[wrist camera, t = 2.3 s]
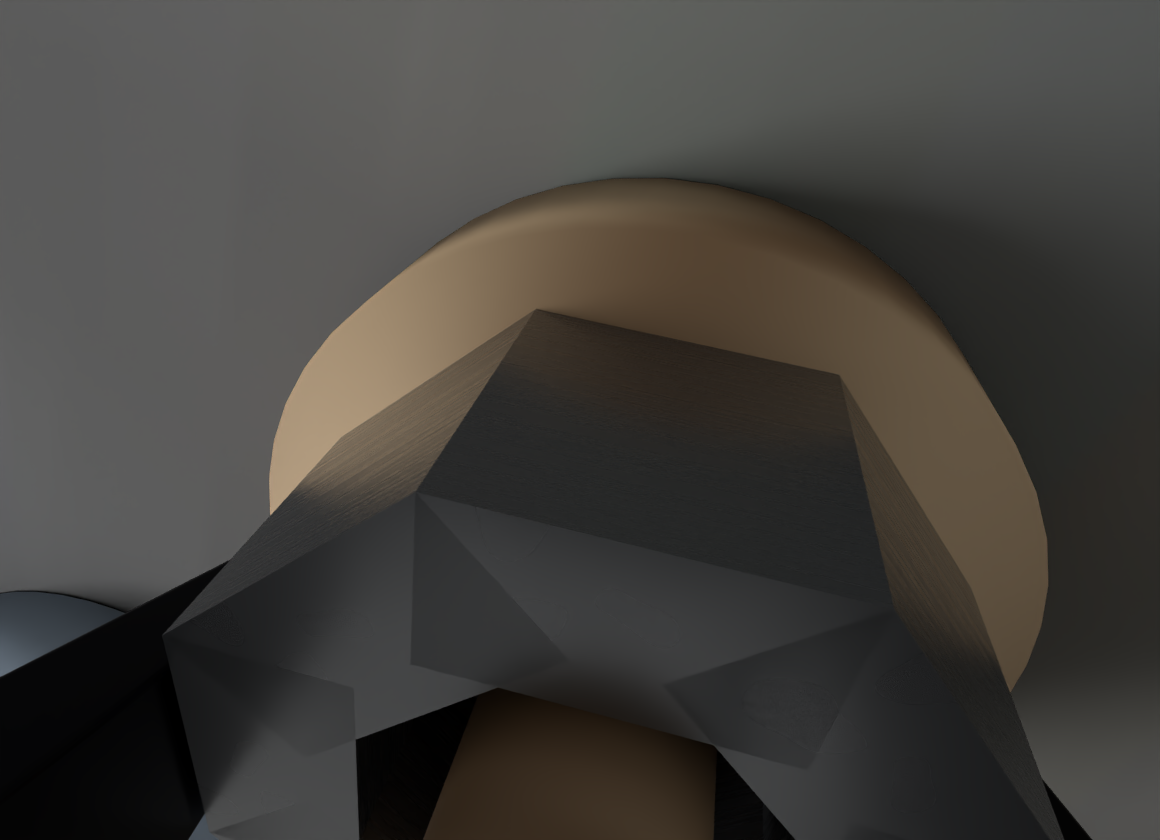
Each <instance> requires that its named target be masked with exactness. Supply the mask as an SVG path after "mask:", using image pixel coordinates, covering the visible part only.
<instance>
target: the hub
mask: <svg viewBox="0 0 1160 840" xmlns="http://www.w3.org/2000/svg"><path fill="white" fill-rule="evenodd" d="M123 614H124V613H123V612H121V611H118V610H115V609H112V608H109V607H106V606H103V605H100V604H97V603H93V602H90V601H86V600H82V599H77V598H73V597H69V596H64V595H58V594H50V593H41V592H9V593H2V594H0V677H1V676H3V675H5V674H7V673H9V672H11V671H13V670H15V669H17V668H19V667H21V666H23V665H24V664H26V663H28V662H30V661H32V660H34V659H36V658H38V657H40V656H42V655H44V654H46V653H48V652H50V651H52V650H54V649H56V648H58V647H60V646H62V645H64V644H66V643H68V642H70V641H72V640H74V639H75V638H77V637H79V636H81V635H83V634H85V633H87V632H89V631H91V630H93V629H95V628H97V627H99V626H101V625H103V624H105V623H107V622H109V621H111V620H113V619H115V618H117V617H119V616H121V615H123ZM189 840H219V839H217V838H216V837H215V836H214V835H212V834H211V833H210V832H209V829H208V824H207V820H206V816H205V814H204V816H203V818H202V819H201V821H200V822H199V824H198V825H197V827H196V829H195V830H194V832H193V833H192V835H191V837H190V838H189Z"/></svg>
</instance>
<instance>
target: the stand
mask: <svg viewBox="0 0 1160 840" xmlns="http://www.w3.org/2000/svg"><path fill="white" fill-rule="evenodd" d="M535 309H539V310H544V311H548V312H553V313H558V314H562V315H567V316H571V317H576V318H581V319H585V320H590V321H595V322H599V323H604V324H608V325H613V326H618V327H622V328H627V329H631V330H636V331H641V332H645V333H650V334H654V335H659V336H664V337H668V338H673V339H677V340H682V341H687V342H691V343H696V344H700V345H705V346H710V347H714V348H719V349H724V350H728V351H733V352H737V353H742V354H747V355H751V356H756V357H760V358H765V359H770V360H774V361H779V362H783V363H788V364H793V365H797V366H802V367H806V368H811V369H816V370H820V371H825V372H830V373H834V374H839V375H840V376H841V378H842V380H843V381H844V383H845V385H846V386H847V388H848V389H849V391H850V393H851V394H852V396H853V397H854V399H855V401H856V402H857V404H858V406H859V407H860V409H861V410H862V412H863V414H864V415H865V417H866V419H867V420H868V422H869V423H870V425H871V427H872V428H873V430H874V431H875V433H876V435H877V436H878V438H879V440H880V441H881V443H882V444H883V446H884V448H885V449H886V451H887V452H888V454H889V456H890V457H891V459H892V461H893V462H894V464H895V465H896V467H897V469H898V470H899V472H900V474H901V475H902V477H903V478H904V480H905V482H906V483H907V485H908V486H909V488H910V490H911V491H912V493H913V495H914V496H915V498H916V499H917V501H918V503H919V504H920V506H921V507H922V509H923V511H924V512H925V514H926V516H927V517H928V519H929V520H930V522H931V524H932V525H933V527H934V528H935V530H936V532H937V533H938V535H939V537H940V538H941V540H942V541H943V543H944V545H945V546H946V548H947V550H948V551H949V553H950V554H951V556H952V558H953V559H954V561H955V562H956V564H957V566H958V567H959V569H960V571H961V572H962V574H963V575H964V577H965V579H966V580H967V582H968V583H969V585H970V587H971V589H972V591H973V594H974V597H975V600H976V602H977V605H978V608H979V610H980V613H981V616H982V618H983V621H984V624H985V627H986V629H987V632H988V635H989V637H990V640H991V643H992V645H993V648H994V651H995V654H996V656H997V659H998V662H999V664H1000V667H1001V670H1002V673H1003V675H1004V678H1005V681H1006V683H1007V686H1008V689H1009V691H1010V692H1011V691H1012V689H1013V687H1014V686H1015V684H1016V682H1017V681H1018V679H1019V677H1020V676H1021V674H1022V672H1023V671H1024V669H1025V667H1026V666H1027V663H1028V661H1029V658H1030V655H1031V653H1032V650H1033V647H1034V645H1035V642H1036V639H1037V636H1038V634H1039V631H1040V628H1041V625H1042V619H1043V613H1044V607H1045V601H1046V595H1047V589H1048V554H1047V537H1046V532H1045V528H1044V523H1043V519H1042V515H1041V510H1040V506H1039V501H1038V497H1037V493H1036V490H1035V488H1034V486H1033V483H1032V481H1031V479H1030V476H1029V474H1028V472H1027V469H1026V467H1025V465H1024V462H1023V460H1022V458H1021V455H1020V453H1019V451H1018V449H1017V446H1016V444H1015V443H1014V441H1013V439H1012V437H1011V436H1010V434H1009V432H1008V431H1007V429H1006V427H1005V425H1004V424H1003V422H1002V420H1001V419H1000V417H999V415H998V413H997V412H996V410H995V408H994V407H993V405H992V403H991V401H990V400H989V398H988V396H987V395H986V393H985V391H984V389H983V388H982V386H981V384H980V383H979V381H978V379H977V377H976V376H975V374H974V372H973V370H972V369H971V367H970V365H969V364H968V362H967V360H966V358H965V357H964V355H963V353H962V352H961V350H960V349H959V347H958V346H957V344H956V343H955V341H954V340H953V338H952V337H951V335H950V333H949V332H948V330H947V329H946V327H945V326H944V324H943V323H942V321H941V320H940V318H939V317H938V315H937V314H936V313H935V312H934V311H933V310H932V308H931V307H930V306H929V305H928V304H927V303H926V302H925V301H924V300H923V299H922V297H921V296H920V295H919V294H918V293H917V292H916V291H915V290H914V289H913V288H912V286H911V285H910V284H909V283H908V282H907V281H906V280H905V279H904V278H903V277H902V276H900V275H899V274H898V273H897V272H896V271H894V270H893V269H892V268H891V267H889V266H888V265H887V264H886V263H884V262H883V261H882V260H881V259H880V258H878V257H877V256H876V255H875V254H873V253H872V252H871V251H870V250H868V249H867V248H866V247H865V246H863V245H861V244H860V243H858V242H856V241H855V240H853V239H851V238H850V237H848V236H846V235H844V234H843V233H841V232H839V231H838V230H836V229H834V228H833V227H831V226H829V225H828V224H826V223H824V222H823V221H821V220H819V219H817V218H814V217H812V216H810V215H807V214H805V213H802V212H800V211H798V210H795V209H793V208H791V207H788V206H786V205H783V204H781V203H779V202H776V201H774V200H771V199H768V198H765V197H761V196H757V195H753V194H750V193H746V192H742V191H738V190H735V189H731V188H727V187H723V186H720V185H714V184H706V183H698V182H690V181H682V180H674V179H667V178H640V179H607V180H600V181H593V182H587V183H580V184H573V185H566V186H561V187H557V188H554V189H551V190H547V191H544V192H540V193H537V194H533V195H530V196H527V197H523V198H520V199H516V200H514V201H512V202H510V203H507V204H505V205H503V206H501V207H499V208H497V209H494V210H492V211H490V212H488V213H486V214H483V215H481V216H479V217H477V218H475V219H473V220H471V221H470V222H468V223H467V224H465V225H464V226H462V227H461V228H459V229H458V230H456V231H455V232H453V233H452V234H450V235H449V236H447V237H445V238H444V239H442V240H441V241H439V242H438V243H437V244H435V245H434V246H433V247H432V248H431V249H429V250H428V251H427V252H426V253H424V254H423V255H422V256H421V257H420V258H418V259H417V260H416V261H415V262H414V263H412V264H411V265H410V266H409V267H408V268H406V269H405V270H404V271H403V272H401V273H400V274H399V275H398V276H397V277H395V278H394V279H393V280H392V281H391V282H389V283H388V284H387V285H386V286H384V287H383V288H382V289H381V290H380V291H378V292H377V293H376V294H375V295H374V296H372V297H371V298H370V299H369V300H367V301H366V302H365V303H364V304H363V305H362V306H361V307H360V308H359V309H357V310H356V311H355V312H354V313H353V314H352V315H351V316H350V317H349V318H348V319H346V320H345V321H344V322H343V323H342V324H341V325H340V326H339V327H338V328H337V329H335V330H334V331H333V332H332V333H331V334H330V336H329V337H328V338H327V339H326V341H325V342H324V343H323V345H322V346H321V347H320V348H319V350H318V351H317V352H316V354H315V355H314V356H313V357H312V359H311V360H310V361H309V363H308V364H307V365H306V367H305V368H304V370H303V372H302V374H301V376H300V378H299V379H298V381H297V383H296V385H295V387H294V389H293V391H292V393H291V395H290V397H289V398H288V400H287V402H286V405H285V408H284V411H283V414H282V417H281V420H280V424H279V427H278V430H277V433H276V436H275V439H274V445H273V453H272V460H271V468H270V475H269V487H270V515H271V514H272V513H273V512H274V511H275V510H276V509H277V508H278V507H279V505H280V504H281V503H282V502H283V501H284V500H285V499H286V498H287V497H288V496H289V494H290V493H291V492H292V491H293V490H294V489H295V488H296V487H297V486H298V484H299V483H300V482H301V481H302V480H303V479H304V478H305V477H306V476H307V474H308V473H309V472H310V471H311V470H312V469H313V468H314V467H315V466H316V465H317V463H318V462H319V461H320V460H321V459H322V458H323V457H324V456H325V455H326V453H327V452H328V451H329V450H330V449H331V448H332V447H333V446H334V445H335V443H336V442H337V441H338V440H339V439H340V438H341V437H342V436H343V435H345V434H347V433H348V432H350V431H351V430H353V429H354V428H356V427H357V426H359V425H360V424H362V423H363V422H365V421H366V420H368V419H369V418H371V417H372V416H374V415H375V414H377V413H378V412H380V411H381V410H383V409H385V408H386V407H388V406H389V405H391V404H392V403H394V402H395V401H397V400H398V399H400V398H401V397H403V396H404V395H406V394H407V393H409V392H410V391H412V390H413V389H415V388H416V387H418V386H419V385H421V384H423V383H424V382H426V381H427V380H429V379H430V378H432V377H433V376H435V375H436V374H438V373H439V372H441V371H442V370H444V369H445V368H447V367H448V366H450V365H451V364H453V363H454V362H456V361H457V360H459V359H461V358H462V357H464V356H465V355H467V354H468V353H470V352H471V351H473V350H474V349H476V348H477V347H479V346H480V345H482V344H483V343H485V342H486V341H488V340H489V339H491V338H492V337H494V336H496V335H497V334H499V333H500V332H502V331H503V330H505V329H506V328H508V327H509V326H511V325H512V324H514V323H515V322H517V321H518V320H520V319H521V318H523V317H524V316H526V315H527V314H529V313H530V312H532V311H534V310H535ZM716 766H717V749H716V747H715V746H714V745H711V744H707V743H703V742H700V741H696V740H692V739H689V738H685V737H681V736H677V735H674V734H670V733H666V732H662V731H659V730H655V729H651V728H647V727H644V726H640V725H636V724H633V723H629V722H625V721H621V720H618V719H614V718H610V717H606V716H603V715H599V714H595V713H591V712H588V711H584V710H580V709H577V708H573V707H569V706H565V705H562V704H558V703H554V702H550V701H547V700H543V699H539V698H535V697H532V696H528V695H524V694H521V693H517V692H513V691H509V690H506V689H502V688H495V689H492V690H489V691H487V692H484V693H481V694H479V695H478V697H477V699H476V702H475V704H474V707H473V710H472V712H471V715H470V718H469V720H468V723H467V725H466V728H465V731H464V733H463V736H462V739H461V741H460V744H459V746H458V749H457V752H456V754H455V757H454V759H453V762H452V765H451V767H450V770H449V773H448V775H447V778H446V780H445V783H444V786H443V788H442V791H441V794H440V796H439V799H438V801H437V804H436V807H435V809H434V812H433V815H432V817H431V820H430V822H429V825H428V828H427V830H426V833H425V835H424V838H423V840H713V839H714V815H715V790H716Z"/></svg>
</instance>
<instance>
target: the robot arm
mask: <svg viewBox="0 0 1160 840" xmlns="http://www.w3.org/2000/svg"><path fill="white" fill-rule="evenodd" d="M230 560H231V559H230ZM230 560H228V561H226V562H225V563H223V564H221V565H219V566H217V567H215V568H213V569H211V570H209V571H207V572H205V573H203V574H201V575H199V576H197V577H195V578H193V579H191V580H189V581H187V582H185V583H183V584H181V585H179V586H177V587H175V588H174V589H172V590H170V591H168V592H166V593H164V594H162V595H160V596H158V597H156V598H154V599H152V600H150V601H148V602H146V603H144V604H142V605H140V606H138V607H136V608H134V609H132V610H130V611H128V612H126V613H124V614H123V615H121V616H119V617H117V618H115V619H113V620H111V621H109V622H107V623H105V624H103V625H101V626H99V627H97V628H95V629H93V630H91V631H89V632H87V633H85V634H83V635H81V636H79V637H77V638H75V639H74V640H72V641H70V642H68V643H66V644H64V645H62V646H60V647H58V648H56V649H54V650H52V651H50V652H48V653H46V654H44V655H42V656H40V657H38V658H36V659H34V660H32V661H30V662H28V663H26V664H24V665H23V666H21V667H19V668H17V669H15V670H13V671H11V672H9V673H7V674H5V675H3V676H1V677H0V840H189V838H190V837H191V835H192V833H193V832H194V830H195V829H196V827H197V825H198V824H199V822H200V821H201V819H202V818H203V816H204V814H205V812H204V808H203V804H202V799H201V795H200V791H199V787H198V783H197V779H196V774H195V770H194V766H193V762H192V758H191V754H190V749H189V745H188V741H187V737H186V733H185V729H184V724H183V720H182V716H181V712H180V708H179V704H178V699H177V695H176V691H175V687H174V683H173V679H172V674H171V670H170V666H169V662H168V658H167V654H166V649H165V645H164V641H163V637H162V635H163V634H164V633H165V632H166V631H167V629H168V628H169V627H170V626H171V625H172V624H173V623H174V622H175V621H176V619H177V618H178V617H179V616H180V615H181V614H182V613H183V612H184V611H185V609H186V608H187V607H188V606H189V605H190V604H191V603H192V602H193V601H194V600H195V598H196V597H197V596H198V595H199V594H200V593H201V592H202V591H203V590H204V588H205V587H206V586H207V585H208V584H209V583H210V582H211V581H212V580H213V578H214V577H215V576H216V575H217V574H218V573H219V572H220V571H221V570H222V569H223V567H224V566H225V565H226V564H227V563H228V562H229V561H230ZM1042 781H1043V783H1044V786H1045V789H1046V791H1047V794H1048V797H1049V800H1050V802H1051V805H1052V808H1053V810H1054V813H1055V816H1056V818H1057V821H1058V824H1059V827H1060V829H1061V832H1062V835H1063V837H1064V840H1092V839H1091V838H1090V836H1089V835H1088V834H1087V833H1086V831H1085V830H1084V829H1083V828H1082V827H1081V825H1080V824H1079V823H1078V822H1077V821H1076V819H1075V818H1074V817H1073V816H1072V814H1071V813H1070V812H1069V811H1068V810H1067V808H1066V807H1065V806H1064V805H1063V804H1062V802H1061V801H1060V800H1059V799H1058V797H1057V796H1056V795H1055V794H1054V793H1053V791H1052V790H1051V789H1050V788H1049V787H1048V785H1047V784H1046V783H1045V782H1044V780H1043V779H1042Z"/></svg>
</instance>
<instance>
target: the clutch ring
mask: <svg viewBox="0 0 1160 840" xmlns="http://www.w3.org/2000/svg"><path fill="white" fill-rule="evenodd" d="M162 637H163V641H164V645H165V649H166V654H167V658H168V662H169V666H170V670H171V674H172V679H173V683H174V687H175V691H176V695H177V699H178V704H179V708H180V712H181V716H182V720H183V724H184V729H185V733H186V737H187V741H188V745H189V749H190V754H191V758H192V762H193V766H194V770H195V774H196V779H197V783H198V787H199V791H200V795H201V799H202V804H203V808H204V812H205V816H206V820H207V824H208V829H209V832H210V833H211V834H212V835H214V836H215V837H216V838H217V839H219V840H423V838H424V835H425V833H426V830H427V828H428V825H429V822H430V820H431V817H432V815H433V812H434V809H435V807H436V804H437V801H438V799H439V796H440V794H441V791H442V788H443V786H444V783H445V780H446V778H447V775H448V773H449V770H450V767H451V765H452V762H453V759H454V757H455V754H456V752H457V749H458V746H459V744H460V741H461V739H462V736H463V733H464V731H465V728H466V725H467V723H468V720H469V718H470V715H471V712H472V710H473V707H474V704H475V702H476V699H477V697H478V695H479V694H481V693H484V692H487V691H489V690H492V689H495V688H502V689H506V690H509V691H513V692H517V693H521V694H524V695H528V696H532V697H535V698H539V699H543V700H547V701H550V702H554V703H558V704H562V705H565V706H569V707H573V708H577V709H580V710H584V711H588V712H591V713H595V714H599V715H603V716H606V717H610V718H614V719H618V720H621V721H625V722H629V723H633V724H636V725H640V726H644V727H647V728H651V729H655V730H659V731H662V732H666V733H670V734H674V735H677V736H681V737H685V738H689V739H692V740H696V741H700V742H703V743H707V744H711V745H714V746H715V747H716V749H717V766H716V790H715V815H714V839H713V840H1064V837H1063V835H1062V832H1061V829H1060V827H1059V824H1058V821H1057V818H1056V816H1055V813H1054V810H1053V808H1052V805H1051V802H1050V800H1049V797H1048V794H1047V791H1046V789H1045V786H1044V783H1043V781H1042V778H1041V775H1040V773H1039V770H1038V767H1037V764H1036V762H1035V759H1034V756H1033V754H1032V751H1031V748H1030V746H1029V743H1028V740H1027V737H1026V735H1025V732H1024V729H1023V727H1022V724H1021V721H1020V718H1019V716H1018V713H1017V710H1016V708H1015V705H1014V702H1013V700H1012V697H1011V694H1010V691H1009V689H1008V686H1007V683H1006V681H1005V678H1004V675H1003V673H1002V670H1001V667H1000V664H999V662H998V659H997V656H996V654H995V651H994V648H993V645H992V643H991V640H990V637H989V635H988V632H987V629H986V627H985V624H984V621H983V618H982V616H981V613H980V610H979V608H978V605H977V602H976V600H975V597H974V594H973V591H972V589H971V587H970V585H969V583H968V582H967V580H966V579H965V577H964V575H963V574H962V572H961V571H960V569H959V567H958V566H957V564H956V562H955V561H954V559H953V558H952V556H951V554H950V553H949V551H948V550H947V548H946V546H945V545H944V543H943V541H942V540H941V538H940V537H939V535H938V533H937V532H936V530H935V528H934V527H933V525H932V524H931V522H930V520H929V519H928V517H927V516H926V514H925V512H924V511H923V509H922V507H921V506H920V504H919V503H918V501H917V499H916V498H915V496H914V495H913V493H912V491H911V490H910V488H909V486H908V485H907V483H906V482H905V480H904V478H903V477H902V475H901V474H900V472H899V470H898V469H897V467H896V465H895V464H894V462H893V461H892V459H891V457H890V456H889V454H888V452H887V451H886V449H885V448H884V446H883V444H882V443H881V441H880V440H879V438H878V436H877V435H876V433H875V431H874V430H873V428H872V427H871V425H870V423H869V422H868V420H867V419H866V417H865V415H864V414H863V412H862V410H861V409H860V407H859V406H858V404H857V402H856V401H855V399H854V397H853V396H852V394H851V393H850V391H849V389H848V388H847V386H846V385H845V383H844V381H843V380H842V378H841V376H840V375H839V374H834V373H830V372H825V371H820V370H816V369H811V368H806V367H802V366H797V365H793V364H788V363H783V362H779V361H774V360H770V359H765V358H760V357H756V356H751V355H747V354H742V353H737V352H733V351H728V350H724V349H719V348H714V347H710V346H705V345H700V344H696V343H691V342H687V341H682V340H677V339H673V338H668V337H664V336H659V335H654V334H650V333H645V332H641V331H636V330H631V329H627V328H622V327H618V326H613V325H608V324H604V323H599V322H595V321H590V320H585V319H581V318H576V317H571V316H567V315H562V314H558V313H553V312H548V311H544V310H539V309H535V310H534V311H532V312H530V313H529V314H527V315H526V316H524V317H523V318H521V319H520V320H518V321H517V322H515V323H514V324H512V325H511V326H509V327H508V328H506V329H505V330H503V331H502V332H500V333H499V334H497V335H496V336H494V337H492V338H491V339H489V340H488V341H486V342H485V343H483V344H482V345H480V346H479V347H477V348H476V349H474V350H473V351H471V352H470V353H468V354H467V355H465V356H464V357H462V358H461V359H459V360H457V361H456V362H454V363H453V364H451V365H450V366H448V367H447V368H445V369H444V370H442V371H441V372H439V373H438V374H436V375H435V376H433V377H432V378H430V379H429V380H427V381H426V382H424V383H423V384H421V385H419V386H418V387H416V388H415V389H413V390H412V391H410V392H409V393H407V394H406V395H404V396H403V397H401V398H400V399H398V400H397V401H395V402H394V403H392V404H391V405H389V406H388V407H386V408H385V409H383V410H381V411H380V412H378V413H377V414H375V415H374V416H372V417H371V418H369V419H368V420H366V421H365V422H363V423H362V424H360V425H359V426H357V427H356V428H354V429H353V430H351V431H350V432H348V433H347V434H345V435H343V436H342V437H341V438H340V439H339V440H338V441H337V442H336V443H335V445H334V446H333V447H332V448H331V449H330V450H329V451H328V452H327V453H326V455H325V456H324V457H323V458H322V459H321V460H320V461H319V462H318V463H317V465H316V466H315V467H314V468H313V469H312V470H311V471H310V472H309V473H308V474H307V476H306V477H305V478H304V479H303V480H302V481H301V482H300V483H299V484H298V486H297V487H296V488H295V489H294V490H293V491H292V492H291V493H290V494H289V496H288V497H287V498H286V499H285V500H284V501H283V502H282V503H281V504H280V505H279V507H278V508H277V509H276V510H275V511H274V512H273V513H272V514H271V515H270V517H269V518H268V519H267V520H266V521H265V522H264V523H263V524H262V525H261V526H260V528H259V529H258V530H257V531H256V532H255V533H254V534H253V535H252V536H251V538H250V539H249V540H248V541H247V542H246V543H245V544H244V545H243V546H242V548H241V549H240V550H239V551H238V552H237V553H236V554H235V555H234V556H233V557H232V559H231V560H230V561H229V562H228V563H227V564H226V565H225V566H224V567H223V569H222V570H221V571H220V572H219V573H218V574H217V575H216V576H215V577H214V578H213V580H212V581H211V582H210V583H209V584H208V585H207V586H206V587H205V588H204V590H203V591H202V592H201V593H200V594H199V595H198V596H197V597H196V598H195V600H194V601H193V602H192V603H191V604H190V605H189V606H188V607H187V608H186V609H185V611H184V612H183V613H182V614H181V615H180V616H179V617H178V618H177V619H176V621H175V622H174V623H173V624H172V625H171V626H170V627H169V628H168V629H167V631H166V632H165V633H164V634H163V635H162Z"/></svg>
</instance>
